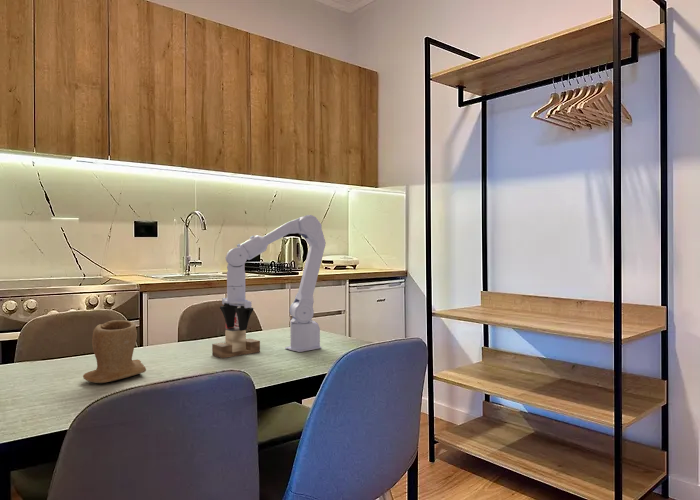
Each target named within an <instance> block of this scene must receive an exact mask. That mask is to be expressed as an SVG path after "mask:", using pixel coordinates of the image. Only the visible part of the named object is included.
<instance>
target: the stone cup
mask: <svg viewBox="0 0 700 500" xmlns="http://www.w3.org/2000/svg"><path fill="white" fill-rule="evenodd" d="M137 331H138V330H137V327H136V324H135V322H133V321H130V320H125V319H117V320H116V319H115V320H110V321H106V322H104V323H102V324H100V323H99V324H97V325H96V326H95V327H94V328H93V331H92V335H91V336H92V338H91V343H92V344H91V346H92V351H93V353H94V356H95V359H96V365H97V366H96V369H94V370H91V371H88V372H86V373H84V374H83V375H82V377H83V380H85V381H87V382H89V383H95V384H96V383H97V384H105V383H106V384H107V383H109V382H115V381H119V380H123V379H126V378H130V377H133V376H136V375H140V374H143V373H145V372H147V368H146V366H144V364H143V363H142V361H141V360H140V359H133V354H134V350H135V345H136V342H137V340H138V339H137V338H138V332H137Z"/></svg>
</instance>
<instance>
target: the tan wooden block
mask: <svg viewBox="0 0 700 500" xmlns="http://www.w3.org/2000/svg"><path fill="white" fill-rule="evenodd" d="M224 335H225V336H224V337H225V339H224V341H225V342H224V343H226V344H230V345H232V353H233V352H238V351H244V350H246V339H247V329H246V330H243V331H240V330H239V327H234V328H226V327H225V334H224Z"/></svg>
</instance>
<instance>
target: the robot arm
mask: <svg viewBox="0 0 700 500" xmlns="http://www.w3.org/2000/svg"><path fill="white" fill-rule="evenodd" d="M290 234H298V235H300V236H301V237H302V238H303V239H304V240H305V241H306V243H307V244H308V246H309V248H308V251H307V254H306V259H305V264H304V267H303V270H302V276H301V279H300V284H299V288H298V291H297V293H296V294H295V297H294V300H293V301H292V303H291V304H290V306H289V310H288V311H289V315H290V316H291V317H292V318H291V319H290V323H289V324H290V325H289V326H290V333H289V334H290V337H289V338H290V345H289V346H285V347H284V349H285V350H289V351H292V352H293V351H294V352H298V353H301V352H308V351H311V350H313V351H314V350H319V349H322V346H321V332H320V331H321V330H320V328H321V327H320V325H319V323H318V322H316V321H315V320H313V317H314V313H315V312H314V311H315V310H314V302H315V301H314V293H315V288H316V286H317V285H316V284H317V281H318V278H319V277H318V275H319V272H320V268H321V264H322V260H323V256H324V253H325V252H324V251H325V248H326V238H325V237H324V236H325V235H324V233H323V228H322V223H321V222H320V221H319V219H318V218H317V217H316V216H315V215H312V214H305V215H303V216H299V217H298V218H295V219H292V220H290V221H287V222H285V223H284V224H282V225H279V226H278V227H277V228H275V229H273V230H272V231H269V232H267V234H265V235H263V236H262V235H258V234H257V235H251V236H249V239H247V240H246V241H245V242H242V243H238V244H236V247H233V248H231V249H229V250H228V251H227V253H226V255H225V261H226V263H227V266H226V269H227V270H226V297H223V298H221V303H222V305H220V306H219V309H220V311H221V312H222V314H223V318H224V321H225V326H226V325H227V328H231V327H234V323H235V314H237V317H238V324H239V330H240V331H243V330H246V331H247V329H248V325H249V320H250V318H251V315H252V313H253V312H254V307H252V301H251V300H248V299H246V270H245V266H246V265H245V264H246V262H247V260H248V261H250V260H252V259H254V258H256V257H257V256H259V255H261V254H262V253H264V252H266V251H267V250H268V246H269V245H270V244H272V243H274V242H275V241H278V240H280V239H282V238H283V237H286V236H287V235H290ZM237 307H241V308H237Z"/></svg>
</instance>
